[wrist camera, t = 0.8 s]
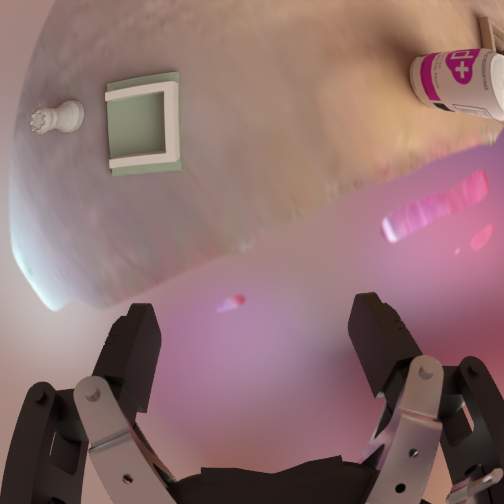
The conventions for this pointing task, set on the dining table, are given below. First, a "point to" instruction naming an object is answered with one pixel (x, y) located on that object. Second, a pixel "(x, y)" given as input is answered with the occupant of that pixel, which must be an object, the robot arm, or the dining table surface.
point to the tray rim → (490, 35)
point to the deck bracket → (144, 124)
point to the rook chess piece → (58, 118)
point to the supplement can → (461, 81)
